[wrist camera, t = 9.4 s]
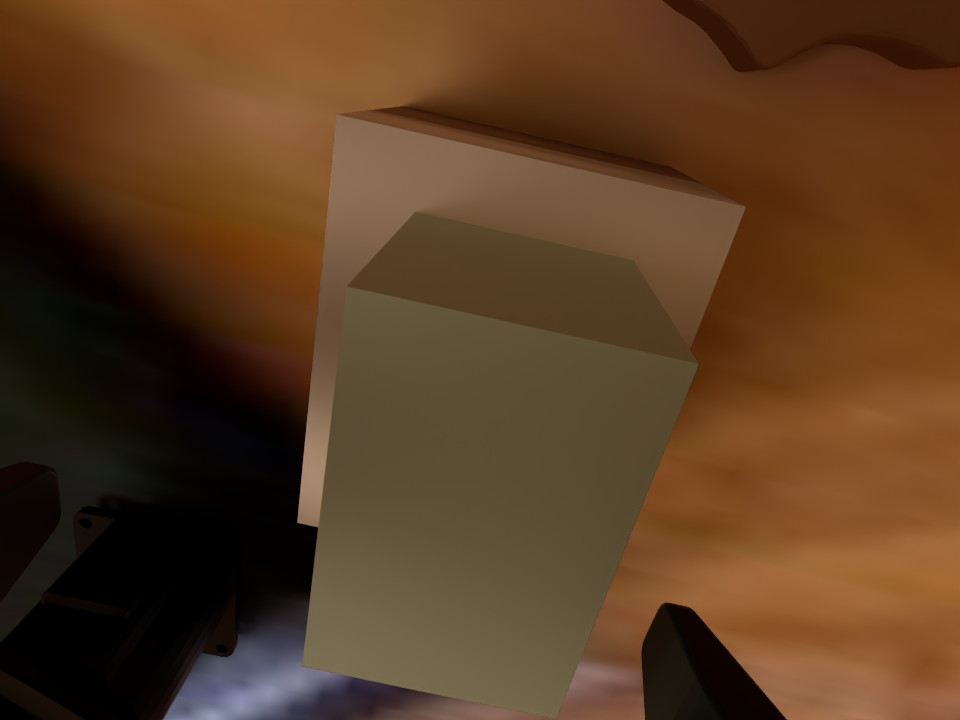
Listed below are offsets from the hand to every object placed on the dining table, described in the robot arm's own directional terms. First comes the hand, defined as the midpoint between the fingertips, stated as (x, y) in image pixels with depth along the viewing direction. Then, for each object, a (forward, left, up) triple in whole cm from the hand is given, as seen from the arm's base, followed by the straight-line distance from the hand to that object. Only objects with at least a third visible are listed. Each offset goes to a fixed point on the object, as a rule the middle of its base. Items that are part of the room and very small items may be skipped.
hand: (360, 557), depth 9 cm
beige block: (0, -2, -12) cm, 12 cm away
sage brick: (0, -2, -5) cm, 6 cm away
